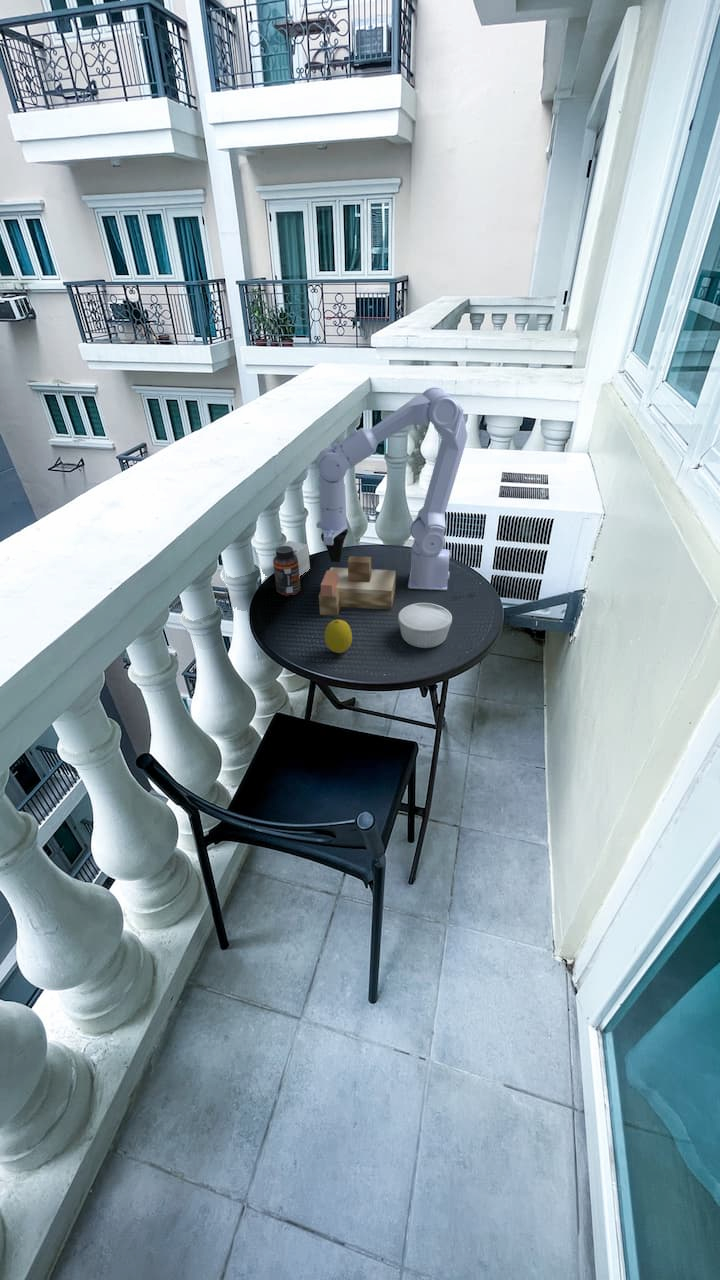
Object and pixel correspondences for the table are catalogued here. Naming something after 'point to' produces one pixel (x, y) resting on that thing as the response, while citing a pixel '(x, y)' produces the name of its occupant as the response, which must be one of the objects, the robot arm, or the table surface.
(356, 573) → the lid
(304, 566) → the skincare box
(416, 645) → the ramekin
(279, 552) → the supplement bottle
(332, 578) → the reddish-pink rectangular block
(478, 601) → the table surface
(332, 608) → the beige wooden shallow box
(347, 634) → the lemon
